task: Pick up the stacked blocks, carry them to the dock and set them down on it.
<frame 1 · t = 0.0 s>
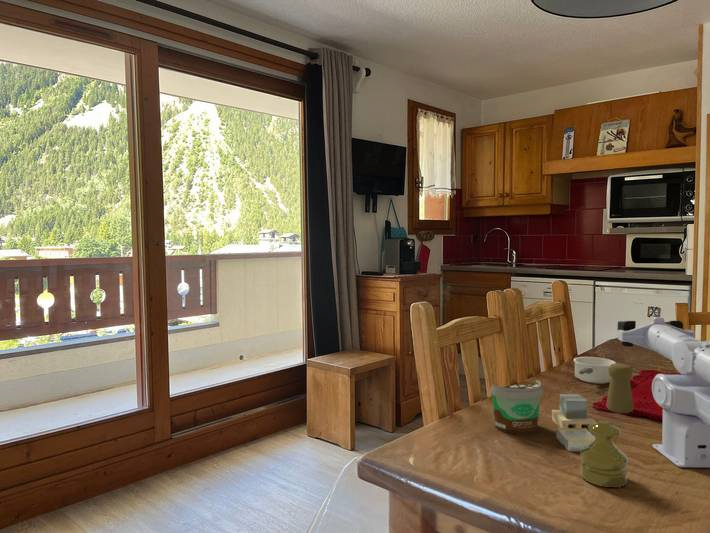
hand: (636, 325, 115), 22 cm above the table, tool horizontal, fingers open, 7 cm apart
cork: (619, 410, 124), on the table
food container: (522, 431, 111), on the table
dock: (577, 444, 104), on the table
stacked blocks: (572, 425, 114), on the table
olive shiny rounded piece: (603, 480, 89), on the table
saucepan: (590, 384, 147), on the table
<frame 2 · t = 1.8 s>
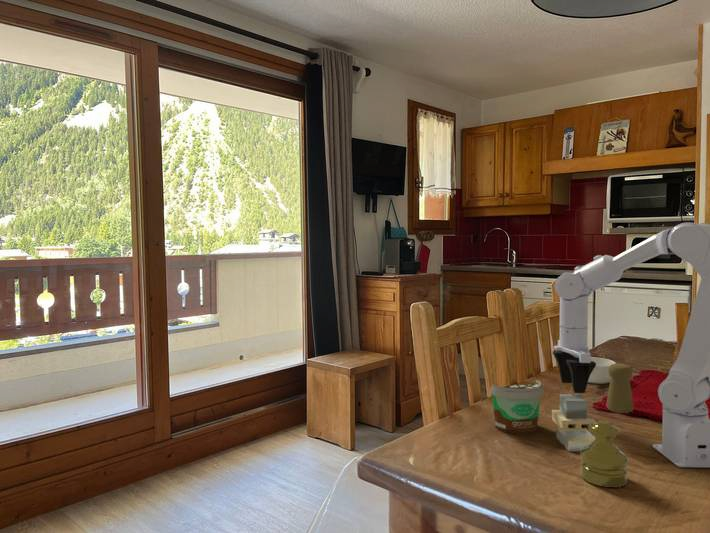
hand: (572, 387, 114), 8 cm above the table, tool pointing down, fingers open, 7 cm apart
nothing on the table moved.
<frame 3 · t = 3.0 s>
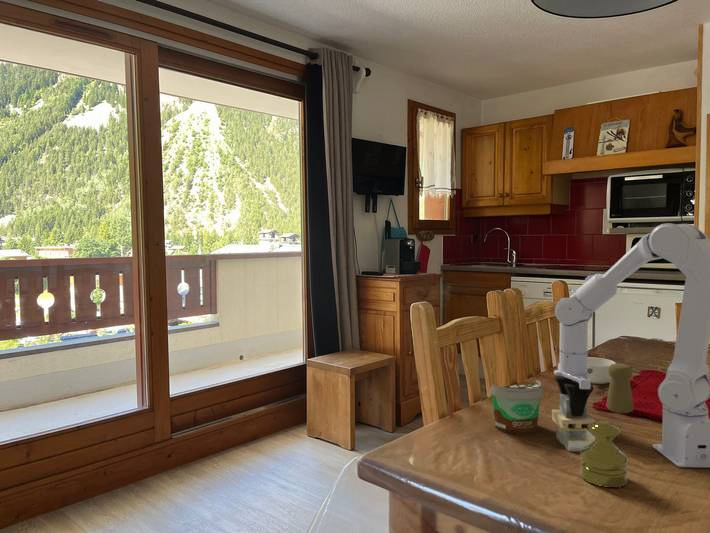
hand: (572, 412, 114), 3 cm above the table, tool pointing down, fingers closed on stacked blocks, 4 cm apart
stacked blocks: (572, 424, 114), on the table, touching gripper
everything else where it was.
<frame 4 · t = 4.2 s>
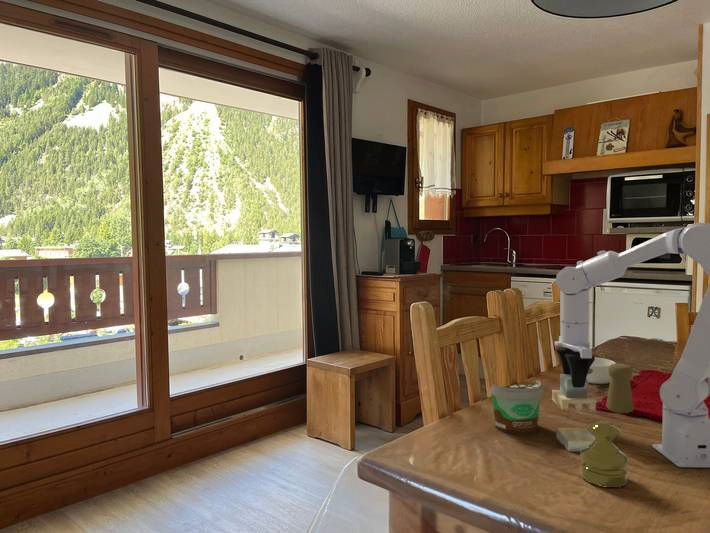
hand: (574, 383, 112), 10 cm above the table, tool pointing down, fingers closed on stacked blocks, 4 cm apart
stacked blocks: (573, 405, 112), point 5 cm above the table, touching gripper
everything else where it was.
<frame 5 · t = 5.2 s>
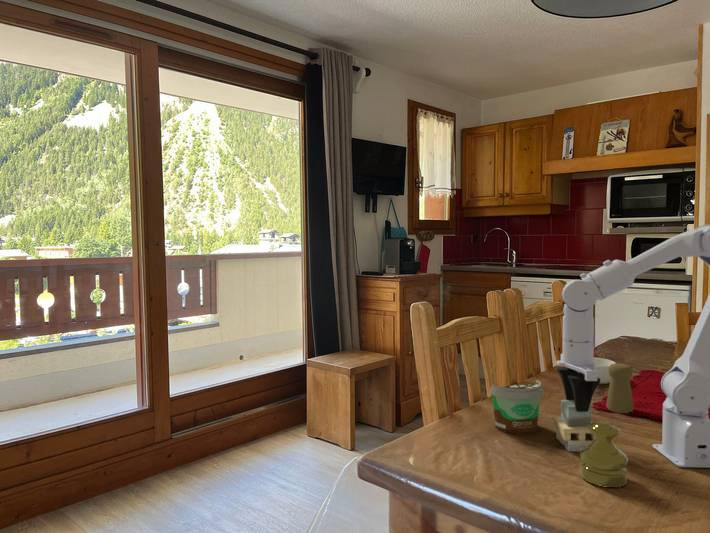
hand: (577, 407, 103), 8 cm above the table, tool pointing down, fingers closed on stacked blocks, 4 cm apart
stacked blocks: (575, 434, 103), point 2 cm above the table, touching dock, gripper
everything else where it was.
when the fingers open (6 cm above the table, at t = 6.0 s): stacked blocks stays where it is, resting on dock.
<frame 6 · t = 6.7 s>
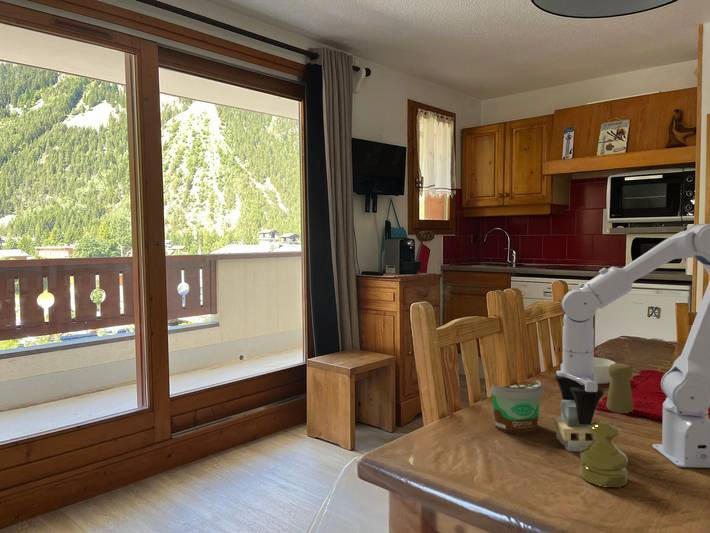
hand: (577, 417, 103), 6 cm above the table, tool pointing down, fingers open, 7 cm apart
stacked blocks: (575, 434, 103), point 2 cm above the table, touching dock
everything else where it was.
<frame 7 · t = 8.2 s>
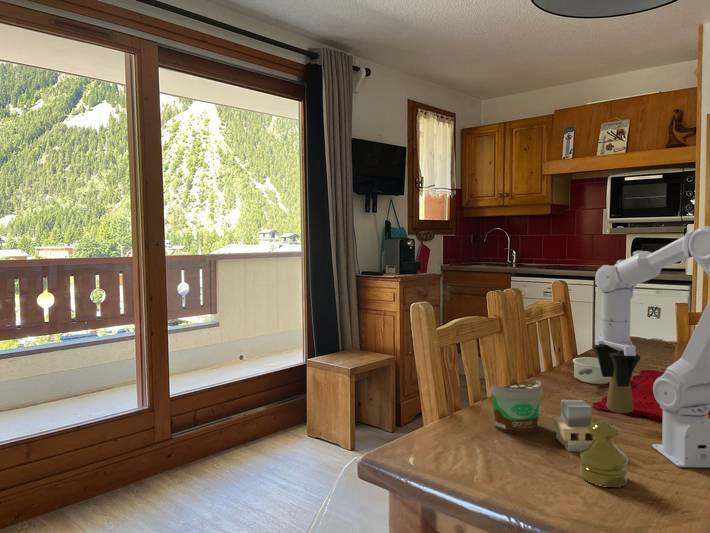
hand: (614, 381, 113), 10 cm above the table, tool pointing down, fingers open, 7 cm apart
nothing on the table moved.
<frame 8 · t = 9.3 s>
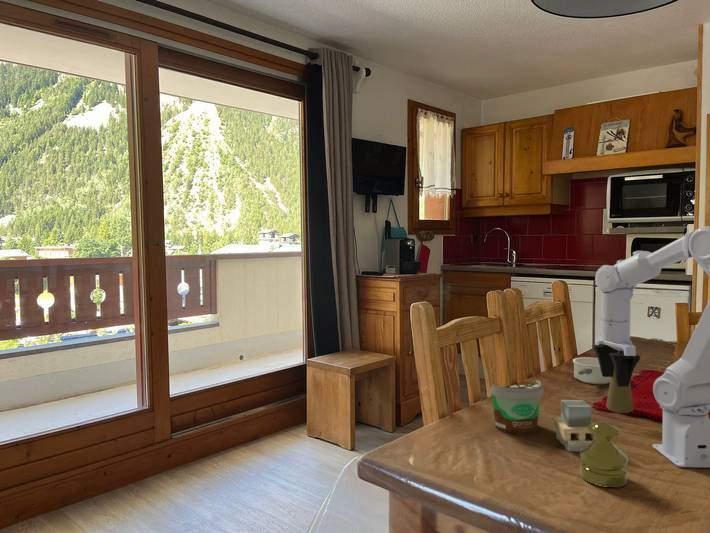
hand: (614, 381, 113), 10 cm above the table, tool pointing down, fingers open, 7 cm apart
nothing on the table moved.
at the end: stacked blocks 0.3 cm off-centre on the dock, point 2.1 cm above the dock's base; stacked blocks tilted 0°; the gripper is holding nothing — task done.
